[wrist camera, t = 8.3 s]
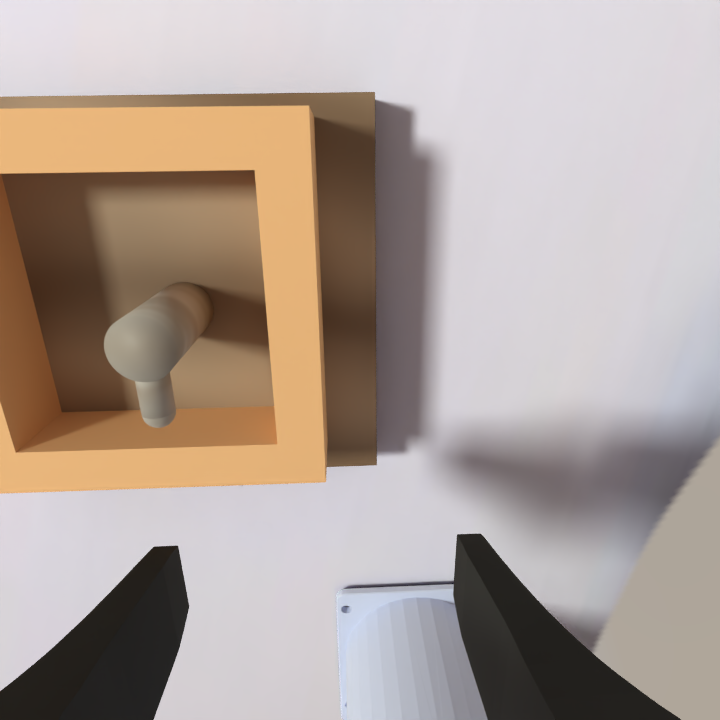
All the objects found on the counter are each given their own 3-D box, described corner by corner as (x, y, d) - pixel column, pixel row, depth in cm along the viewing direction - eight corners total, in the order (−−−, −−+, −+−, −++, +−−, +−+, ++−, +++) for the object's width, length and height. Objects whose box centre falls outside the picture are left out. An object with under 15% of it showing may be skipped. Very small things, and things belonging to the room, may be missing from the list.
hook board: (374, 446, 22) (386, 538, 17) (58, 457, 22) (-38, 555, 16) (371, 98, 17) (387, 64, 12) (-38, 103, 17) (-224, 71, 11)
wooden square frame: (327, 439, 20) (325, 482, 18) (30, 448, 20) (-20, 494, 17) (314, 116, 16) (308, 105, 13) (-64, 121, 16) (-151, 110, 13)
